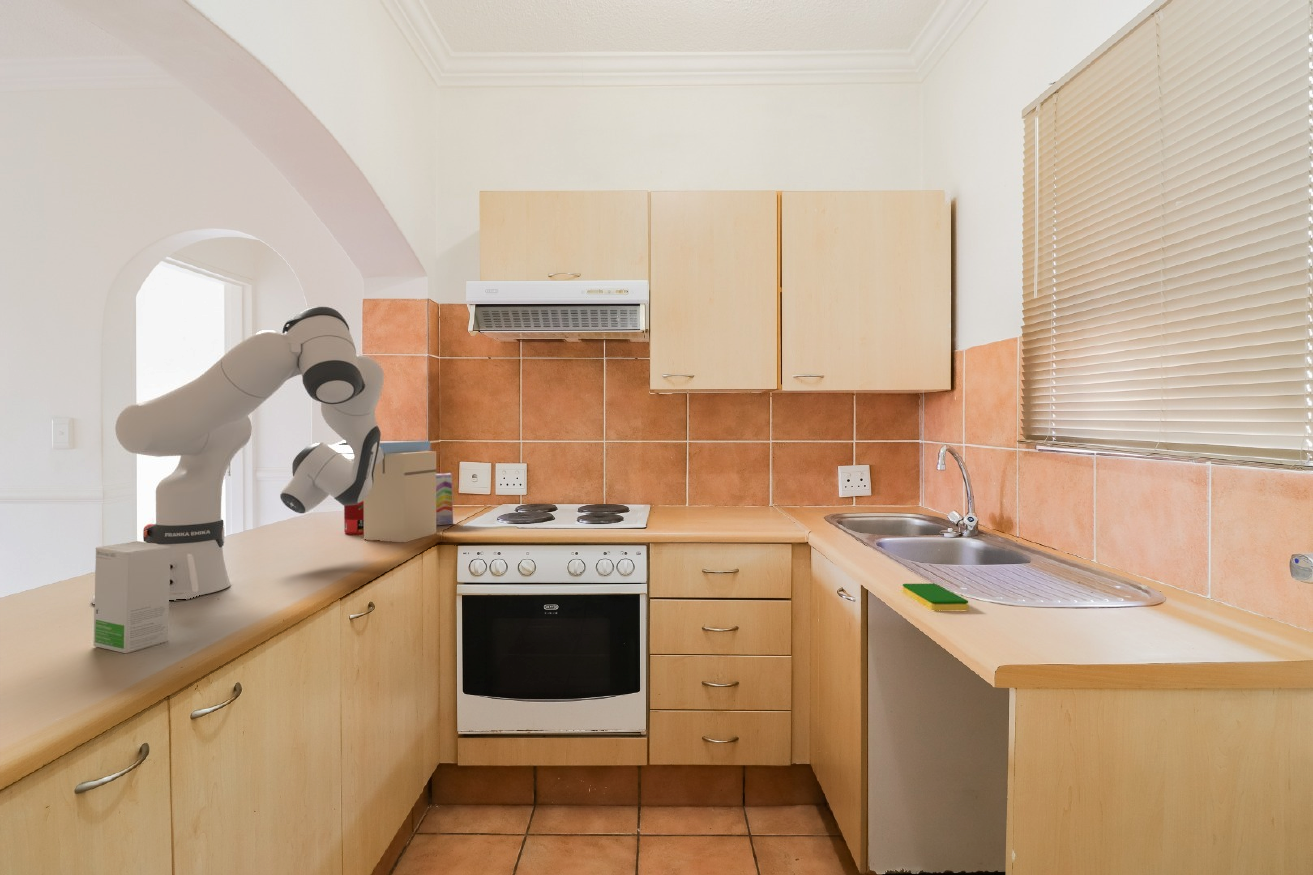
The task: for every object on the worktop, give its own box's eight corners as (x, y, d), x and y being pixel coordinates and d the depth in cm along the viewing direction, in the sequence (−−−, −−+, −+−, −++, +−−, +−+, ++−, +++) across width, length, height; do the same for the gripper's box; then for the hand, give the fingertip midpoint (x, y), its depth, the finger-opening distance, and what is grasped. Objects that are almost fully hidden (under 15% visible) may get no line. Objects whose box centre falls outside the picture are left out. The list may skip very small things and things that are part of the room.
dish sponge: (932, 613, 124) (932, 600, 124) (901, 594, 138) (902, 583, 138) (969, 613, 125) (969, 600, 125) (935, 594, 138) (935, 583, 138)
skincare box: (92, 647, 102) (91, 547, 101) (139, 634, 108) (138, 540, 108) (127, 654, 99) (126, 551, 98) (173, 640, 105) (172, 543, 105)
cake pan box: (392, 528, 217) (392, 475, 217) (393, 526, 222) (392, 474, 222) (453, 525, 224) (453, 473, 224) (452, 523, 229) (452, 472, 229)
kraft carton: (404, 542, 192) (404, 453, 191) (363, 539, 195) (363, 452, 195) (436, 533, 207) (436, 451, 207) (397, 531, 211) (397, 450, 210)
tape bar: (379, 453, 188) (379, 443, 188) (367, 453, 189) (367, 443, 189) (430, 450, 212) (430, 441, 212) (419, 450, 213) (419, 440, 213)
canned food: (361, 535, 203) (361, 500, 203) (338, 534, 204) (338, 499, 204) (376, 531, 210) (376, 497, 210) (354, 530, 212) (354, 496, 212)
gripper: (361, 459, 170) (391, 432, 181) (295, 457, 175) (328, 431, 186) (369, 479, 173) (398, 451, 184) (304, 477, 178) (336, 450, 189)
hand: (362, 441), depth 185 cm, fingers open, 8 cm apart
